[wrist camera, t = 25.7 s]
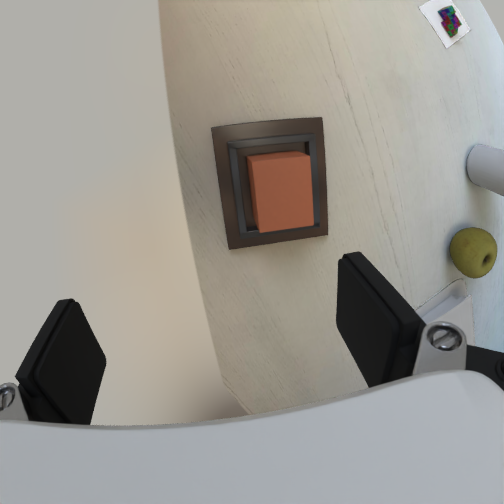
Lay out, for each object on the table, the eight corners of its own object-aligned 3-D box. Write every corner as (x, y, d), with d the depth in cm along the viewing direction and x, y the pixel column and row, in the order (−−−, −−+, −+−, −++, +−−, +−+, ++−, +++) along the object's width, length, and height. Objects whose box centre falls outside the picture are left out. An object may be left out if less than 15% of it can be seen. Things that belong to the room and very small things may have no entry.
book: (464, 272, 44) (477, 283, 40) (471, 344, 53) (480, 354, 50) (397, 323, 46) (408, 337, 43) (418, 384, 55) (426, 396, 52)
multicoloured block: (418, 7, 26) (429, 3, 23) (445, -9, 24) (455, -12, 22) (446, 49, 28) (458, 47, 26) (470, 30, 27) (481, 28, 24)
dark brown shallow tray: (211, 127, 31) (211, 128, 29) (319, 117, 32) (327, 117, 29) (228, 246, 37) (229, 255, 35) (325, 232, 38) (332, 239, 35)
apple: (466, 263, 43) (492, 283, 37) (436, 263, 42) (463, 285, 36) (479, 222, 40) (508, 238, 34) (449, 217, 39) (479, 235, 33)
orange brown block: (246, 155, 32) (251, 161, 27) (296, 150, 32) (310, 155, 27) (253, 217, 35) (259, 233, 30) (300, 210, 35) (313, 225, 30)
